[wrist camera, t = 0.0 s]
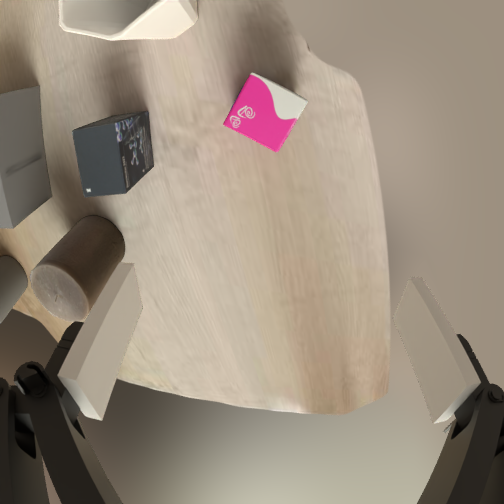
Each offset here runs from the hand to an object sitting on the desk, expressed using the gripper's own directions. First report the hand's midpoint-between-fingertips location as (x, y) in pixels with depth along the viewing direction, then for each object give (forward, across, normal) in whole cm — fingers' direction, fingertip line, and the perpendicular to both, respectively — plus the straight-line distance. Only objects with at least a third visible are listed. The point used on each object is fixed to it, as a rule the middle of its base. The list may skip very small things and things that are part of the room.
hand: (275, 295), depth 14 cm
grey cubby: (+28, -38, +2) cm, 47 cm away
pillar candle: (+28, -25, -15) cm, 41 cm away
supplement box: (+28, 0, +6) cm, 29 cm away
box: (+28, -17, +1) cm, 33 cm away
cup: (+28, -12, +18) cm, 36 cm away
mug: (+28, -51, -22) cm, 62 cm away
